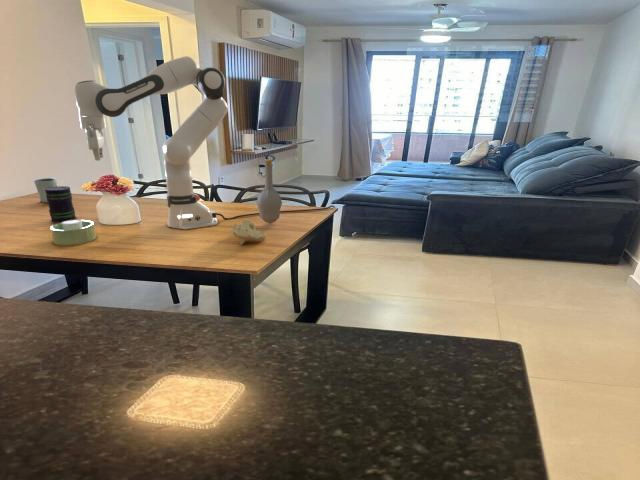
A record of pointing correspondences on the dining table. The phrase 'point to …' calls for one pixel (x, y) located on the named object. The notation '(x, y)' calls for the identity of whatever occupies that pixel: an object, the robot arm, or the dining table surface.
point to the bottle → (269, 198)
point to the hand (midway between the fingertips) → (99, 159)
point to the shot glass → (71, 224)
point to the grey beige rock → (247, 232)
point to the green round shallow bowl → (73, 234)
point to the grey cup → (44, 187)
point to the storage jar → (60, 203)
